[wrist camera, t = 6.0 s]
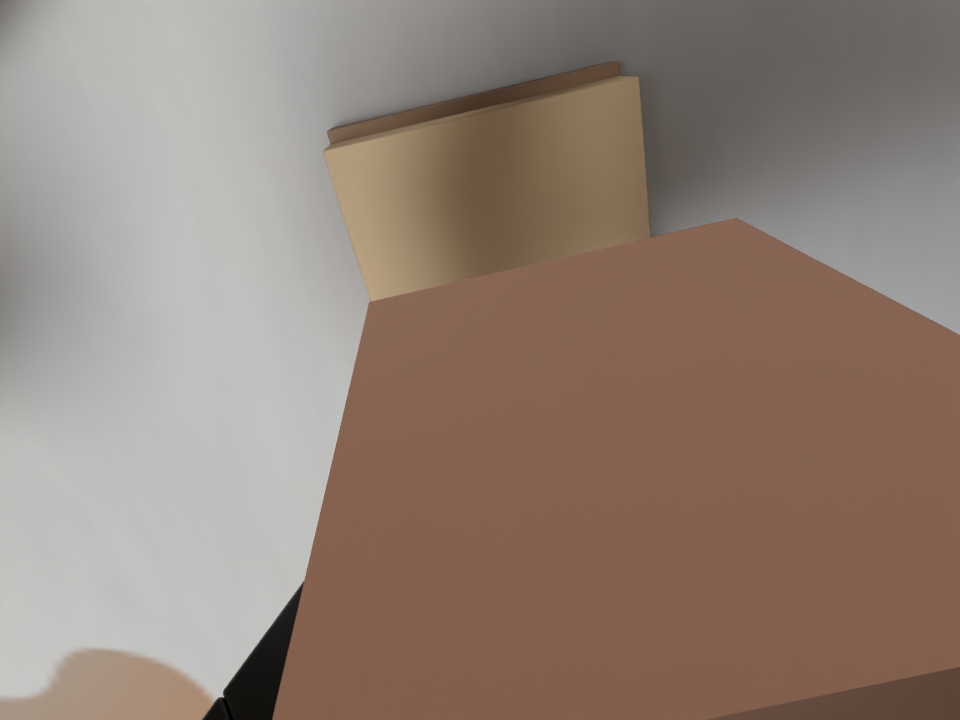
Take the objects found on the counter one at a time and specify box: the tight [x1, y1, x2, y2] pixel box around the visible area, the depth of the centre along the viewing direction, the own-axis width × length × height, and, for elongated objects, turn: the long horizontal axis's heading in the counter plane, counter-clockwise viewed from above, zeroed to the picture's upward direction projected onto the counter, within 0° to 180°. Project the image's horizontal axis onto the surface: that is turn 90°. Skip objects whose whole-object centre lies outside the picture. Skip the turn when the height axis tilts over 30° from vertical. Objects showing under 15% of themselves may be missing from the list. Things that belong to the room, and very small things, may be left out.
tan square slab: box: [323, 75, 651, 301], centre depth 17 cm, size 8×8×2 cm
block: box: [272, 218, 960, 720], centre depth 6 cm, size 5×5×6 cm
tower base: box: [327, 62, 620, 144], centre depth 18 cm, size 8×8×2 cm
